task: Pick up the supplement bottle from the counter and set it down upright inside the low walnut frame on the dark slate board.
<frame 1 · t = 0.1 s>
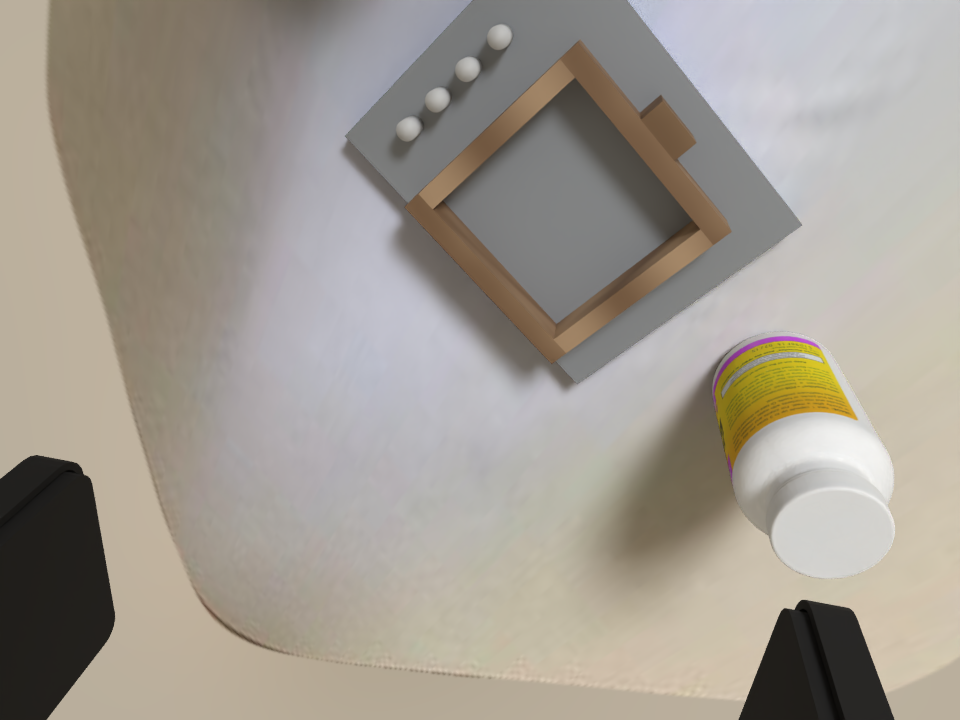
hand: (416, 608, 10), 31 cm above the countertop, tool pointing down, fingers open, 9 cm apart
supplement bottle 2: (772, 380, 42), on the countertop
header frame: (566, 207, 38), resting on board
board: (569, 173, 38), on the countertop
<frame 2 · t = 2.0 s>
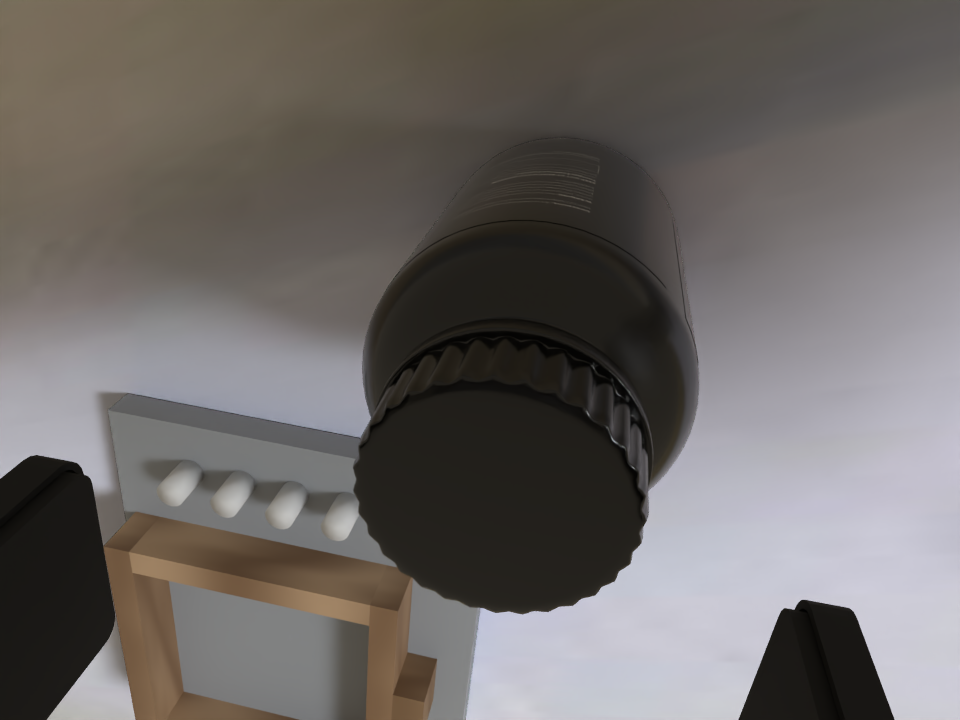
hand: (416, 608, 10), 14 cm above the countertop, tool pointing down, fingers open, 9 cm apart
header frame: (276, 643, 31), resting on board
supplement bottle: (562, 249, 22), on the countertop
board: (310, 608, 31), on the countertop
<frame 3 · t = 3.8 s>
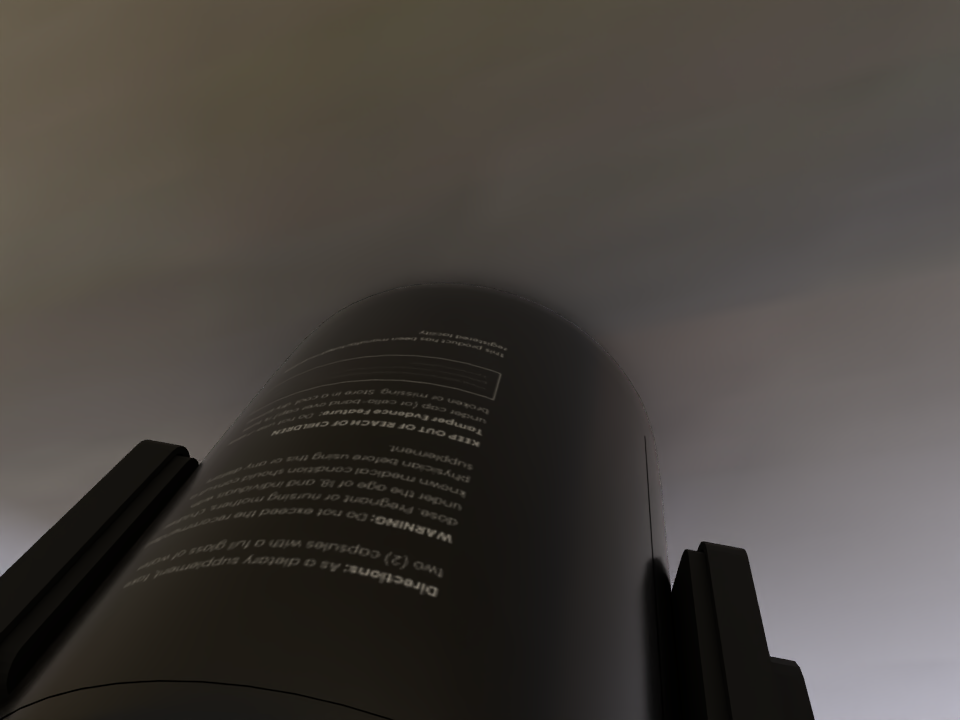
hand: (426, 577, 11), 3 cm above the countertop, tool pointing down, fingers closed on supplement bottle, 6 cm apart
supplement bottle: (467, 444, 14), on the countertop, touching gripper
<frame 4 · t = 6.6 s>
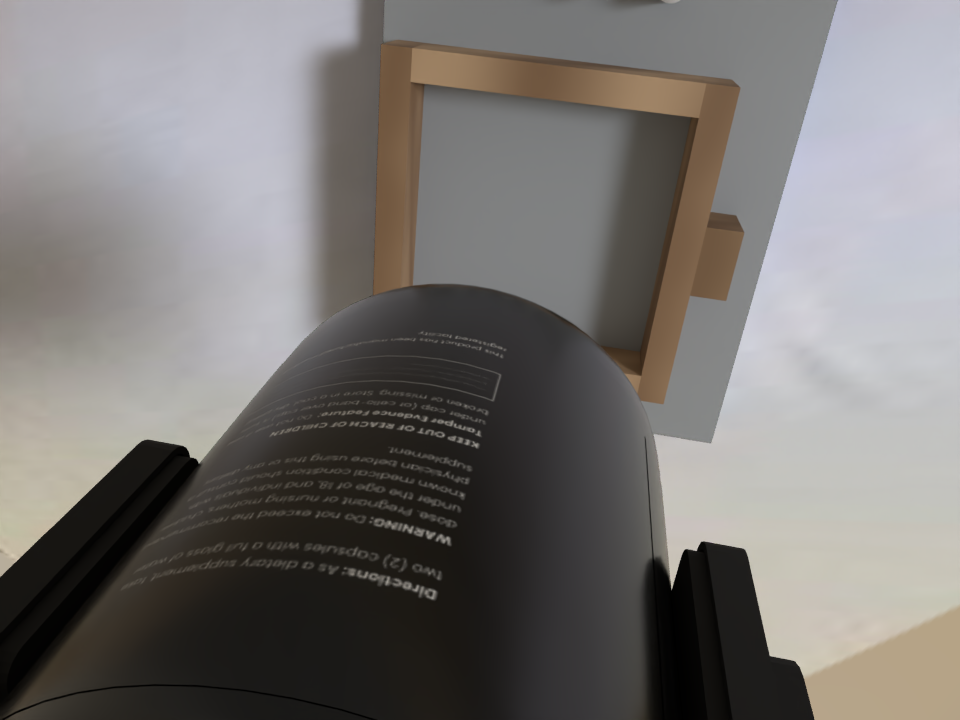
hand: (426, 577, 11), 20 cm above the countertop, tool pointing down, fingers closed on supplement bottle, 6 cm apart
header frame: (538, 221, 27), resting on board
supplement bottle: (467, 445, 14), point 16 cm above the countertop, touching gripper
board: (572, 189, 28), on the countertop
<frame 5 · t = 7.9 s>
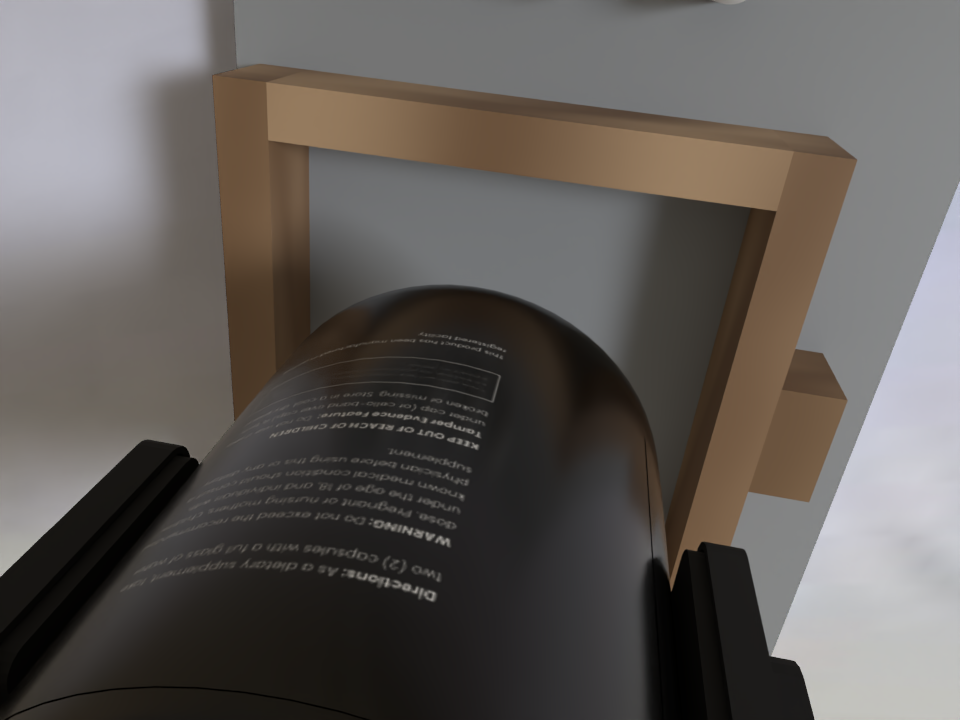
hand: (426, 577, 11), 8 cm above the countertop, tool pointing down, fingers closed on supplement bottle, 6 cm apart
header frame: (501, 352, 17), resting on board
supplement bottle: (467, 446, 14), point 5 cm above the countertop, touching gripper
board: (555, 298, 18), on the countertop
when the fingers open (6 cm above the countertop, at t = 9.2 s): supplement bottle drops 1 cm, resting on board.
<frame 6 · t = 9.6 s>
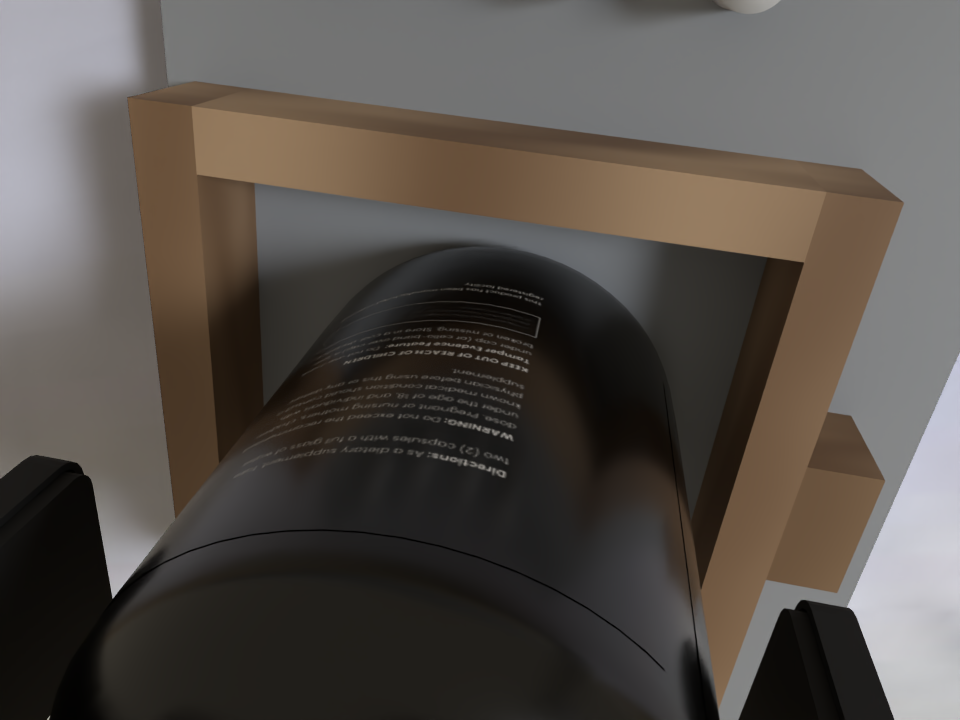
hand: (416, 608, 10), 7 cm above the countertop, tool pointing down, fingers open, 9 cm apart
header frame: (480, 409, 15), resting on board
supplement bottle: (496, 400, 15), point 1 cm above the countertop, touching board
board: (542, 346, 15), on the countertop
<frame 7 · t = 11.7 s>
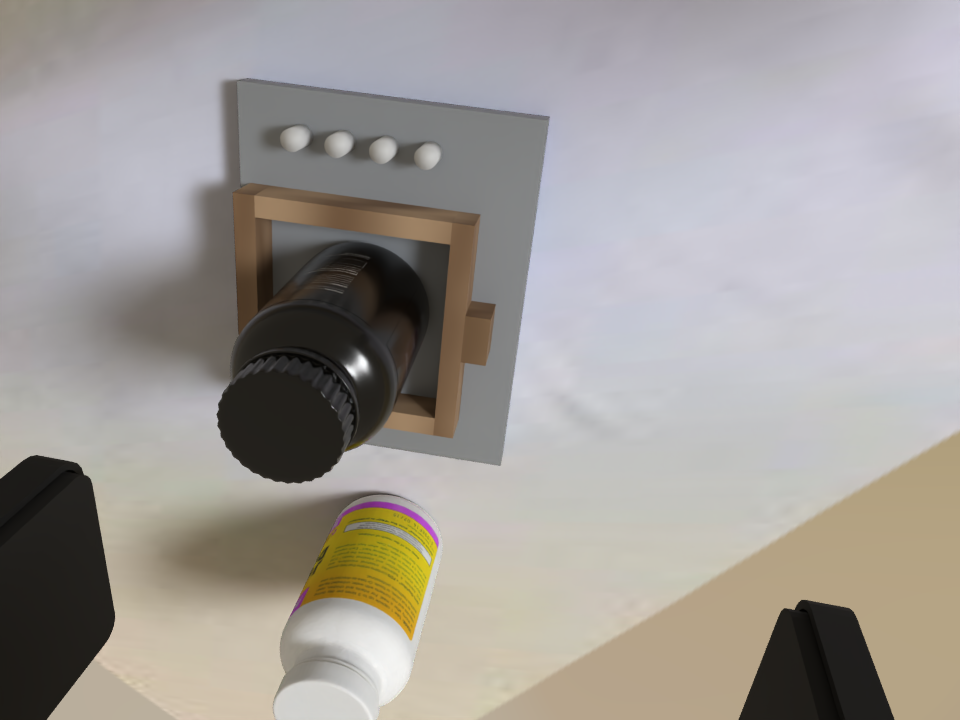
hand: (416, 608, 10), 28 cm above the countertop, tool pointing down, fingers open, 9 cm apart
supplement bottle 2: (390, 533, 45), on the countertop
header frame: (360, 307, 38), resting on board
supplement bottle: (366, 303, 38), point 1 cm above the countertop, touching board
board: (386, 283, 38), on the countertop
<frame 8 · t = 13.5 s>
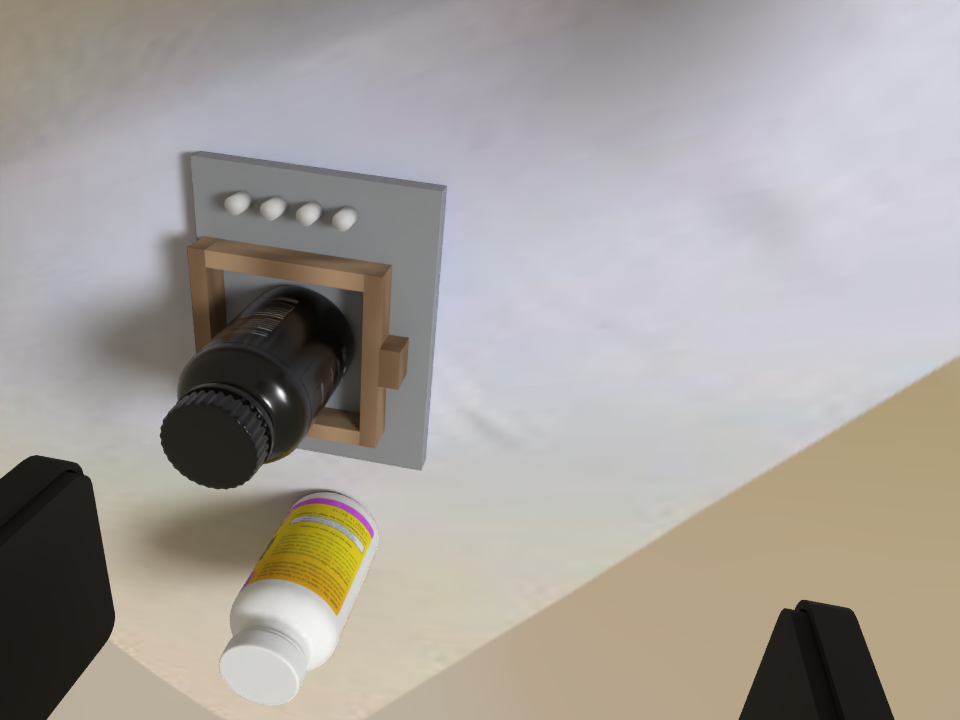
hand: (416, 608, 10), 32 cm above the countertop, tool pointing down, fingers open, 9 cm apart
supplement bottle 2: (336, 524, 53), on the countertop
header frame: (298, 337, 45), resting on board
supplement bottle: (304, 334, 45), point 1 cm above the countertop, touching board
board: (321, 317, 45), on the countertop
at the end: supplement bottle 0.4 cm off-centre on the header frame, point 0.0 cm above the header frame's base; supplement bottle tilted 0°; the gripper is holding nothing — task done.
